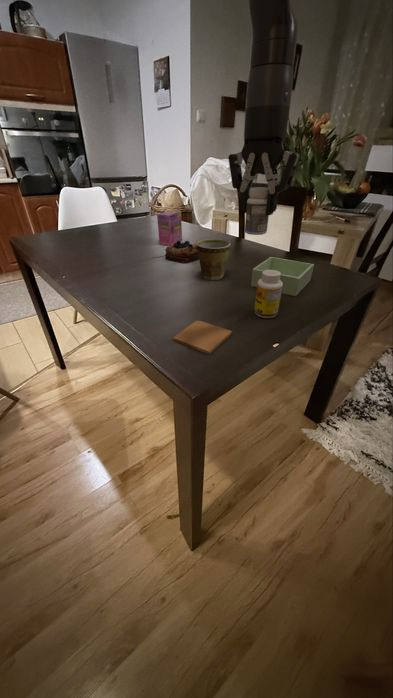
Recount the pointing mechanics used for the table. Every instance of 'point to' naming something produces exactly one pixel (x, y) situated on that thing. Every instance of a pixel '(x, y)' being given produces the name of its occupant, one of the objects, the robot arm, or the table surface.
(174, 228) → the box
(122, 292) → the table surface
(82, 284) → the table surface
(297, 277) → the bin
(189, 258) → the pastry
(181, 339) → the cork mat
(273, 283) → the supplement bottle
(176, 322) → the table surface
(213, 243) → the ceramic cup
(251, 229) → the pill bottle
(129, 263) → the table surface
